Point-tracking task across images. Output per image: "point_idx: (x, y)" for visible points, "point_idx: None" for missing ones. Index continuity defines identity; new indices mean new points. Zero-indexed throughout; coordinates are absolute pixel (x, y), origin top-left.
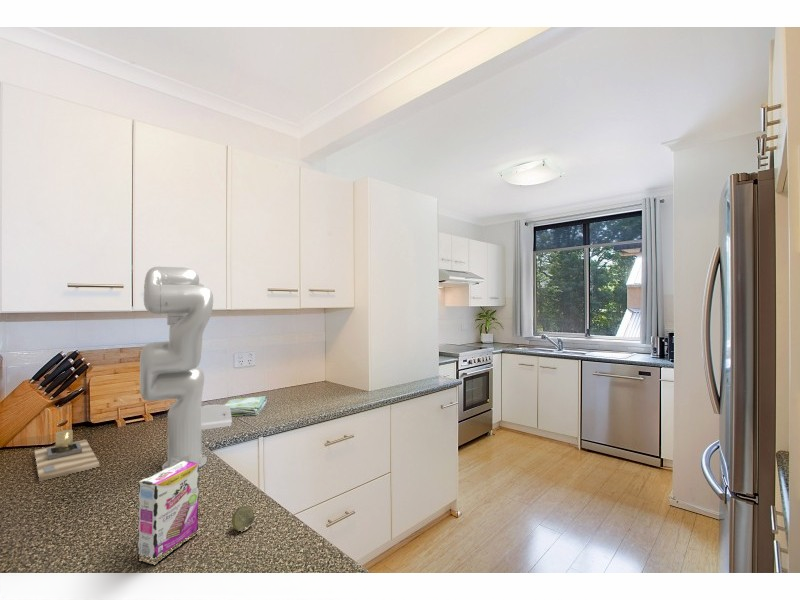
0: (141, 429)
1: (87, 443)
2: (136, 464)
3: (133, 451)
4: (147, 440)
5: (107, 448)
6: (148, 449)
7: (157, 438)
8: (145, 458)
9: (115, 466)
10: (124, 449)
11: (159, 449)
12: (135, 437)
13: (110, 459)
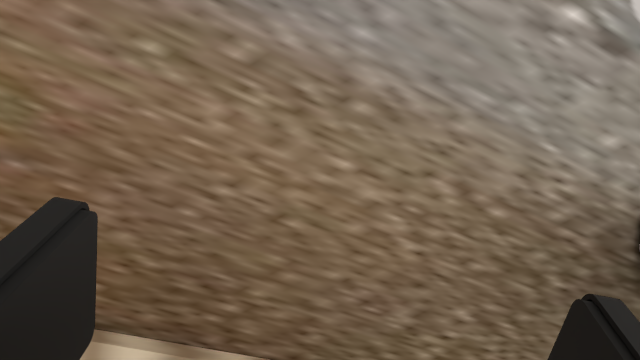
0: (30, 115)
1: (136, 351)
2: (516, 314)
3: (356, 266)
4: (254, 175)
5: (220, 304)
6: (389, 224)
7: (265, 135)
8: (486, 274)
9: (461, 356)
10: (295, 275)
11: (435, 199)
12: (156, 187)
13: (369, 341)
